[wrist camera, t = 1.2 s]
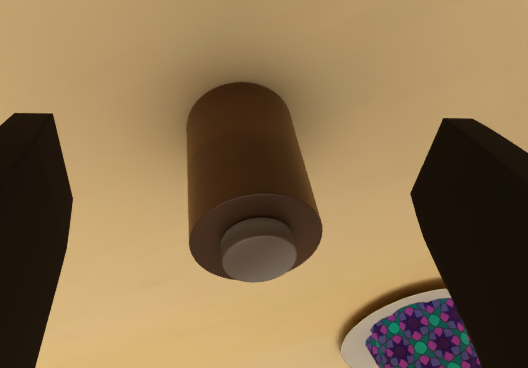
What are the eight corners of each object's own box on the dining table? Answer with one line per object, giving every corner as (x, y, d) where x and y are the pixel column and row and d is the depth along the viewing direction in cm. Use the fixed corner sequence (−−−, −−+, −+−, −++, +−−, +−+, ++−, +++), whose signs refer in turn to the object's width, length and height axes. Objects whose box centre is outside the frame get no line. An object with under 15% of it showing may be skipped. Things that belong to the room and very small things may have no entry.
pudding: (399, 265, 29) (433, 346, 25) (539, 290, 33) (585, 362, 29) (309, 360, 36) (324, 434, 32) (433, 370, 40) (460, 436, 36)
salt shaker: (312, 118, 20) (356, 247, 15) (245, 181, 22) (265, 312, 17) (231, 61, 18) (252, 191, 13) (165, 137, 20) (161, 274, 15)
